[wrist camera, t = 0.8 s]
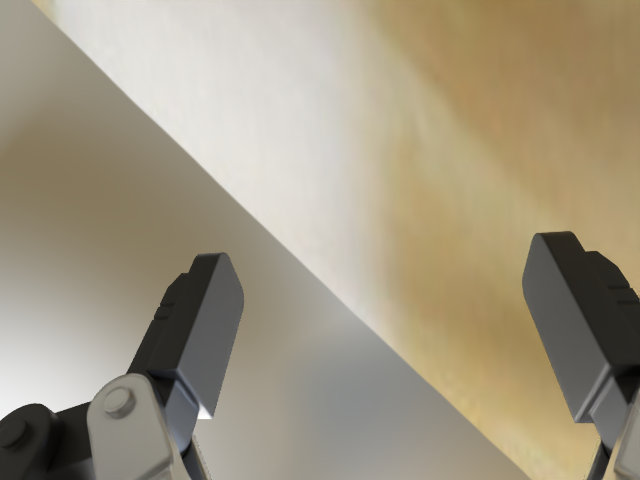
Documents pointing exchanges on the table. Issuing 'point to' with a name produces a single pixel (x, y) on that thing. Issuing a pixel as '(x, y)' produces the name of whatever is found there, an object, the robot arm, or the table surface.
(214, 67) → the table surface
